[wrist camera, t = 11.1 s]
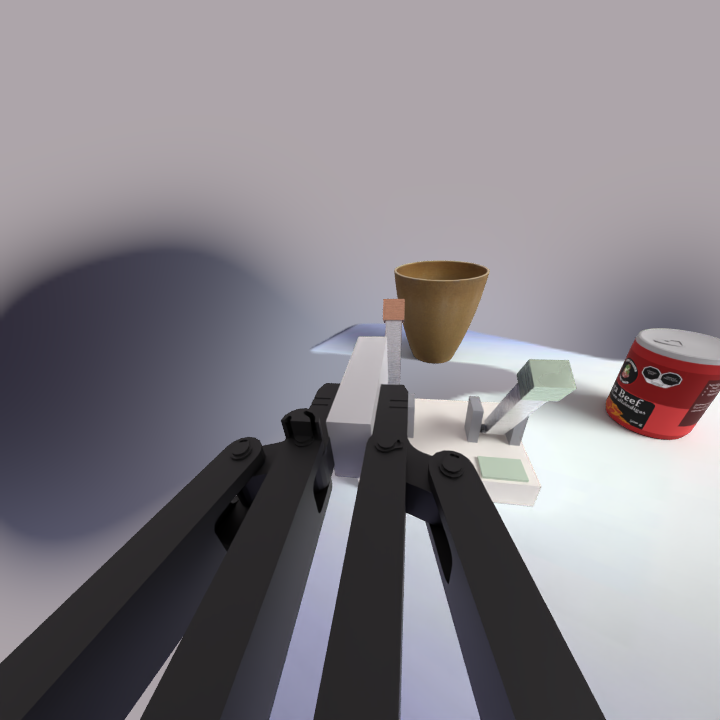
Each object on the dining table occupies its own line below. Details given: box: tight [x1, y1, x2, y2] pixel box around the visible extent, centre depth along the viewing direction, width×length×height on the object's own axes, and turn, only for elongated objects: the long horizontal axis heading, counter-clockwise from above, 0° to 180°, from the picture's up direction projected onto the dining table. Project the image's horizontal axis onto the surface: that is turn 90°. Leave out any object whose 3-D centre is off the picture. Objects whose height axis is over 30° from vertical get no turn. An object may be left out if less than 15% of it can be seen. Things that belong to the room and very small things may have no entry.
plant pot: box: [394, 261, 490, 364], centre depth 50 cm, size 15×15×16 cm
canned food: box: [606, 329, 720, 440], centre depth 33 cm, size 8×8×11 cm
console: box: [358, 393, 541, 507], centre depth 32 cm, size 17×12×7 cm
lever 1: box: [383, 299, 405, 385], centre depth 33 cm, size 2×2×15 cm
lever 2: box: [480, 359, 576, 435], centre depth 25 cm, size 2×2×15 cm
